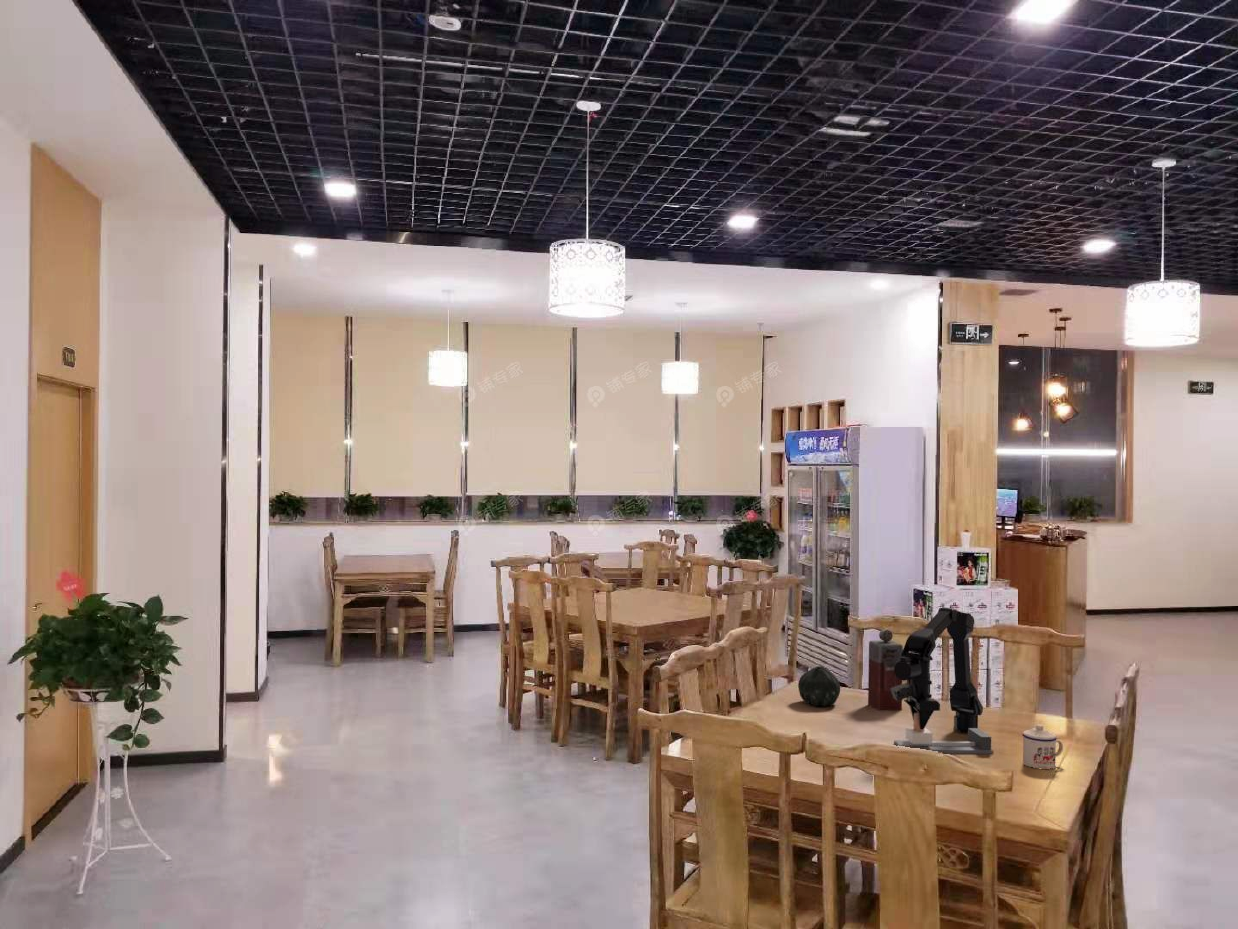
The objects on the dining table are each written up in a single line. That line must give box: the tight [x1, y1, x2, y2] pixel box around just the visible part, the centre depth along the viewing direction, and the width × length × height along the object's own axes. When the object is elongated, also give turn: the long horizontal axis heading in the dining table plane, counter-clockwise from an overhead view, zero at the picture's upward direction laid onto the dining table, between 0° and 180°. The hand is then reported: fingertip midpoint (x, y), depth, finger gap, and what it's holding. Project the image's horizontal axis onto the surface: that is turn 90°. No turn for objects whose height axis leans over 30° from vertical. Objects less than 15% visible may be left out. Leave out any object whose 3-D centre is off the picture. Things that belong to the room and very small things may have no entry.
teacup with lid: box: [1021, 724, 1064, 770], centre depth 275 cm, size 12×9×12 cm
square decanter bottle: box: [867, 628, 904, 712], centre depth 340 cm, size 9×11×28 cm
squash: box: [797, 665, 841, 707], centre depth 344 cm, size 14×15×15 cm
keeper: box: [905, 713, 933, 744], centre depth 290 cm, size 6×6×8 cm
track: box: [893, 727, 994, 755], centre depth 290 cm, size 27×10×5 cm, turn 92°
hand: (919, 727), depth 290 cm, fingers open, 5 cm apart
